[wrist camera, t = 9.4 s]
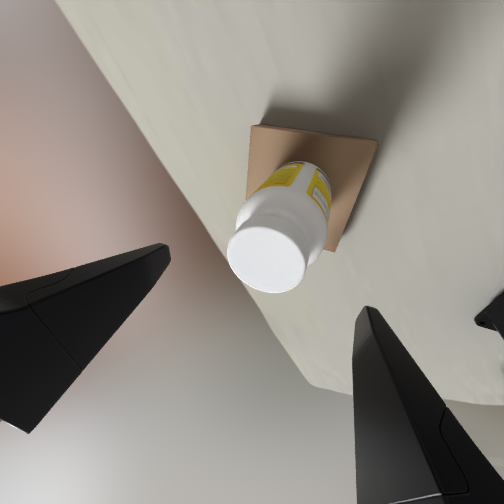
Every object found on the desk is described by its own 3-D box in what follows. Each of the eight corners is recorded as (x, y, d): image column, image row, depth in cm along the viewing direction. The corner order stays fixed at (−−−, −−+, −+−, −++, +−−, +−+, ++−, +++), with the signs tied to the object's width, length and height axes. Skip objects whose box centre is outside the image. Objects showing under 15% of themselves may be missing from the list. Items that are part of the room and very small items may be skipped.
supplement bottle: (258, 207, 20) (204, 272, 12) (282, 148, 16) (227, 186, 9) (311, 234, 19) (289, 318, 12) (347, 178, 16) (349, 246, 8)
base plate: (374, 140, 16) (378, 144, 14) (335, 241, 21) (334, 252, 19) (259, 124, 18) (251, 125, 16) (250, 220, 23) (243, 228, 21)
